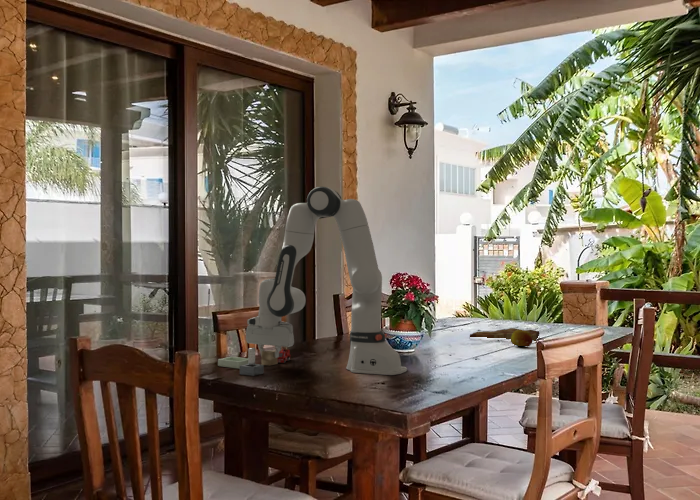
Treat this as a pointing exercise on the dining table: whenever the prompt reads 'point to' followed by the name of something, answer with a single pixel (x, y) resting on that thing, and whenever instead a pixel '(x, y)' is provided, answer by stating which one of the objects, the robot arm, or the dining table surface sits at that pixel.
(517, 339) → the fruit
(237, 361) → the tray
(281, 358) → the toy fire truck
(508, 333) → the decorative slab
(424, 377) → the dining table surface
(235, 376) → the dining table surface
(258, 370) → the socket block
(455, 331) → the dining table surface
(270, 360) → the block
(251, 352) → the pin
